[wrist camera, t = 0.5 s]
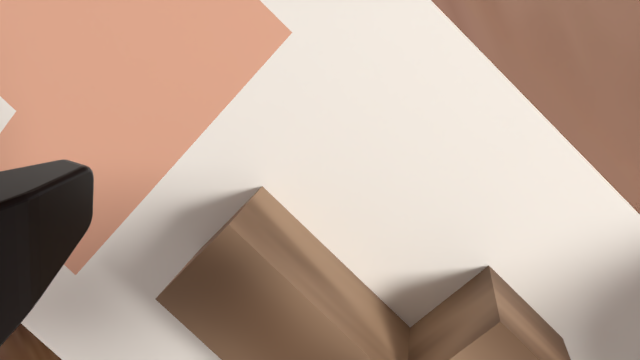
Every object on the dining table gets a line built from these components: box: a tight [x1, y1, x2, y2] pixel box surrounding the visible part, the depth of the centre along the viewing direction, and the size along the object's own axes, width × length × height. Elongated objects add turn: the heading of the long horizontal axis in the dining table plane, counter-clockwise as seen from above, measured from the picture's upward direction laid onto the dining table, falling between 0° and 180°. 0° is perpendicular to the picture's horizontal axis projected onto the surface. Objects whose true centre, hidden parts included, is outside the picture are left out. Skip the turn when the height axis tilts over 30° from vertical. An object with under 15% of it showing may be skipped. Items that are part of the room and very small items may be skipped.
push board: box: [0, 0, 640, 360], centre depth 24 cm, size 22×38×1 cm, turn 47°
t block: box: [156, 186, 571, 360], centre depth 22 cm, size 12×12×4 cm
